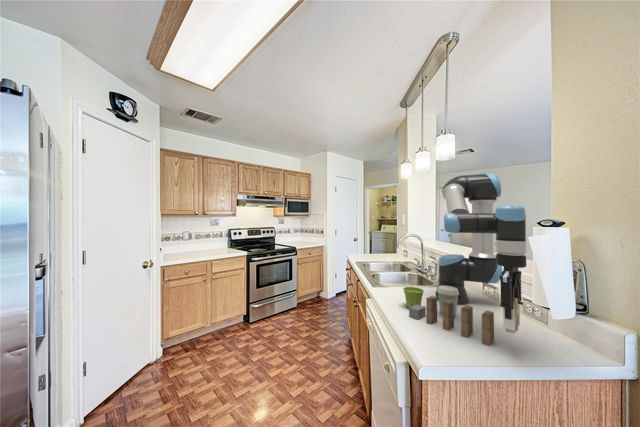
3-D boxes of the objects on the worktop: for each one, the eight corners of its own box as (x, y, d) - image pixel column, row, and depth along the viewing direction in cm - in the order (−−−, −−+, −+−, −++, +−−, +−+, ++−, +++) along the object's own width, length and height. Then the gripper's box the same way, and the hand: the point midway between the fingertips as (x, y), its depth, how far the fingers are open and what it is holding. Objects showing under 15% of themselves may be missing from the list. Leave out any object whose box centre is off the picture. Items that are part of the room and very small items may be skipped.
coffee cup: (462, 320, 96) (462, 291, 96) (440, 318, 98) (440, 290, 98) (455, 312, 105) (454, 285, 105) (434, 310, 106) (434, 284, 106)
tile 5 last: (432, 319, 97) (432, 295, 97) (437, 321, 95) (437, 296, 96) (426, 322, 94) (426, 298, 94) (431, 324, 92) (431, 299, 93)
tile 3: (466, 331, 87) (466, 304, 87) (472, 333, 85) (472, 306, 85) (461, 335, 84) (461, 308, 84) (467, 338, 82) (467, 309, 82)
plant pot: (400, 303, 115) (400, 286, 115) (419, 304, 114) (419, 286, 115) (406, 311, 105) (406, 292, 106) (427, 311, 105) (427, 292, 105)
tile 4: (448, 325, 92) (448, 300, 92) (454, 327, 90) (453, 301, 90) (442, 328, 89) (442, 302, 89) (448, 330, 87) (448, 304, 87)
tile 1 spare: (510, 326, 76) (510, 296, 77) (518, 329, 75) (517, 298, 75) (505, 331, 73) (505, 299, 74) (513, 333, 72) (513, 301, 72)
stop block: (416, 313, 103) (416, 304, 103) (425, 316, 100) (425, 307, 100) (409, 316, 100) (409, 307, 100) (418, 320, 96) (417, 310, 97)
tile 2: (487, 338, 82) (486, 310, 82) (494, 341, 80) (493, 312, 80) (482, 343, 78) (481, 314, 79) (489, 346, 77) (488, 316, 77)
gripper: (505, 250, 83) (506, 315, 82) (486, 254, 72) (488, 329, 72) (532, 252, 77) (534, 323, 76) (517, 257, 66) (519, 340, 66)
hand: (511, 326), depth 74 cm, fingers closed on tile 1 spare, 5 cm apart
